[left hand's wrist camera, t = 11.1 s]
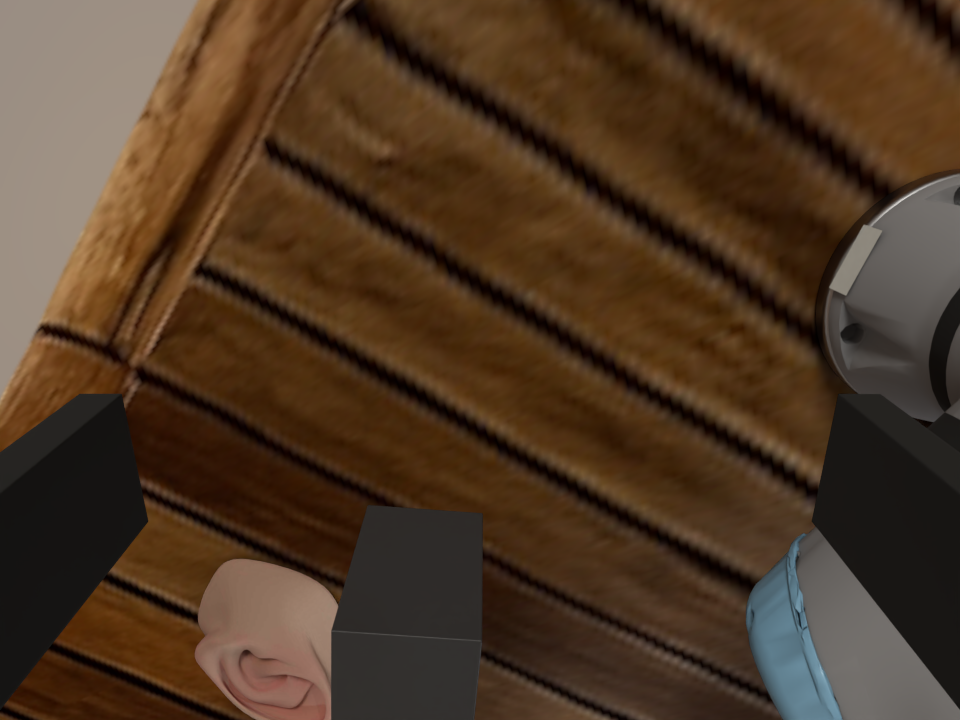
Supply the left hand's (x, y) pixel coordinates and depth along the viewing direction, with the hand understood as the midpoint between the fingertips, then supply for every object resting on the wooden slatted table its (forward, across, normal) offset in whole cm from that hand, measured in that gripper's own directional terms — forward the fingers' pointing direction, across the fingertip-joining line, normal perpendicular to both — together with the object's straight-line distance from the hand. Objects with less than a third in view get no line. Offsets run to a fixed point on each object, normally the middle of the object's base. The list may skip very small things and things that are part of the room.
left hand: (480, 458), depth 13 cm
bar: (+16, -3, -23) cm, 28 cm away
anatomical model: (+30, -16, -32) cm, 46 cm away
